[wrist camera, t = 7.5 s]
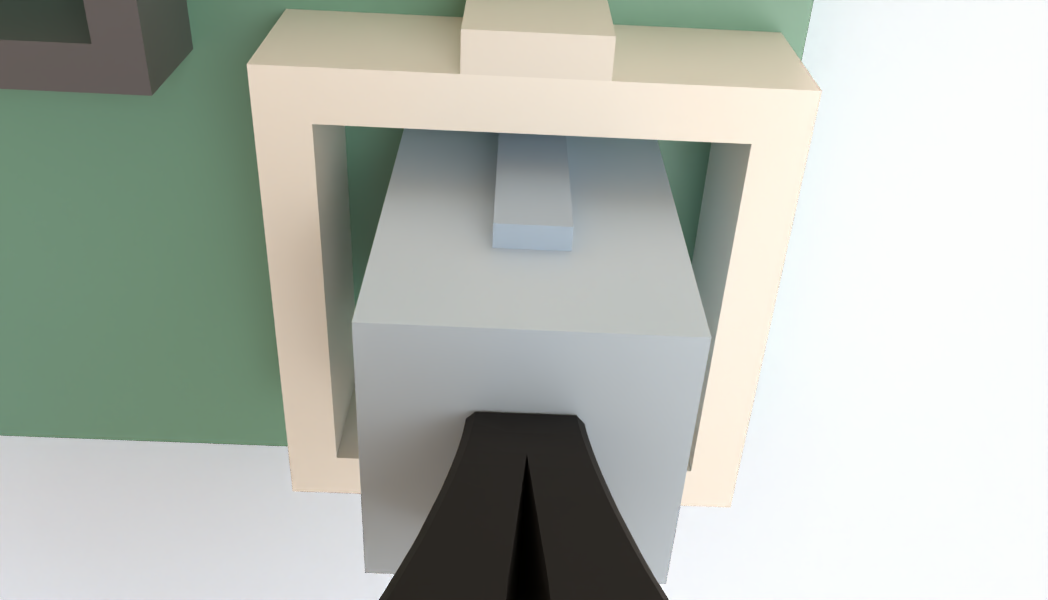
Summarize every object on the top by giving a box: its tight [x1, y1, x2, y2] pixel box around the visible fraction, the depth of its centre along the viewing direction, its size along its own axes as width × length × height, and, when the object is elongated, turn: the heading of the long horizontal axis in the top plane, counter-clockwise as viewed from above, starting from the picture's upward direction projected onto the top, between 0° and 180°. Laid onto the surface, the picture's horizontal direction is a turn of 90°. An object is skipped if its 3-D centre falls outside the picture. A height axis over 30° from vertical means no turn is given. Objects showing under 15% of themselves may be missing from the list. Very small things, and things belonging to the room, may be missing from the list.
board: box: [0, 0, 814, 446], centre depth 17 cm, size 12×17×1 cm
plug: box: [352, 128, 711, 584], centre depth 14 cm, size 4×4×6 cm
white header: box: [247, 0, 822, 507], centre depth 16 cm, size 8×8×2 cm
